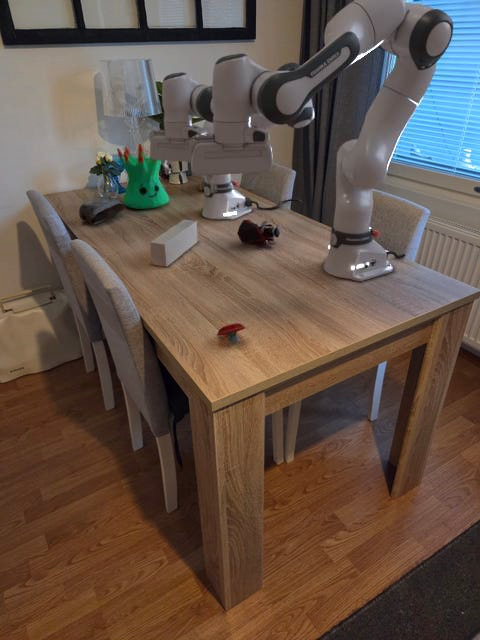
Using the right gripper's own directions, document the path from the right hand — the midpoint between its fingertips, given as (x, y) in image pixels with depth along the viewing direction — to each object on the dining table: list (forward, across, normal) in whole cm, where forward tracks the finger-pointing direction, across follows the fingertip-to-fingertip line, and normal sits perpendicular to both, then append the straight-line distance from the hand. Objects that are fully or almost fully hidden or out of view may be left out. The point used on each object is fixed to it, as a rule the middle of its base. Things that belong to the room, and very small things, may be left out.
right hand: (232, 191), depth 113 cm
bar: (+31, -12, +36) cm, 49 cm away
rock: (+31, -38, +77) cm, 92 cm away
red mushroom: (+31, -5, -22) cm, 38 cm away
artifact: (+31, +15, +114) cm, 119 cm away
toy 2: (+31, +18, +37) cm, 51 cm away
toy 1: (+31, -20, +95) cm, 102 cm away
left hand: (+6, -8, +42) cm, 44 cm away
